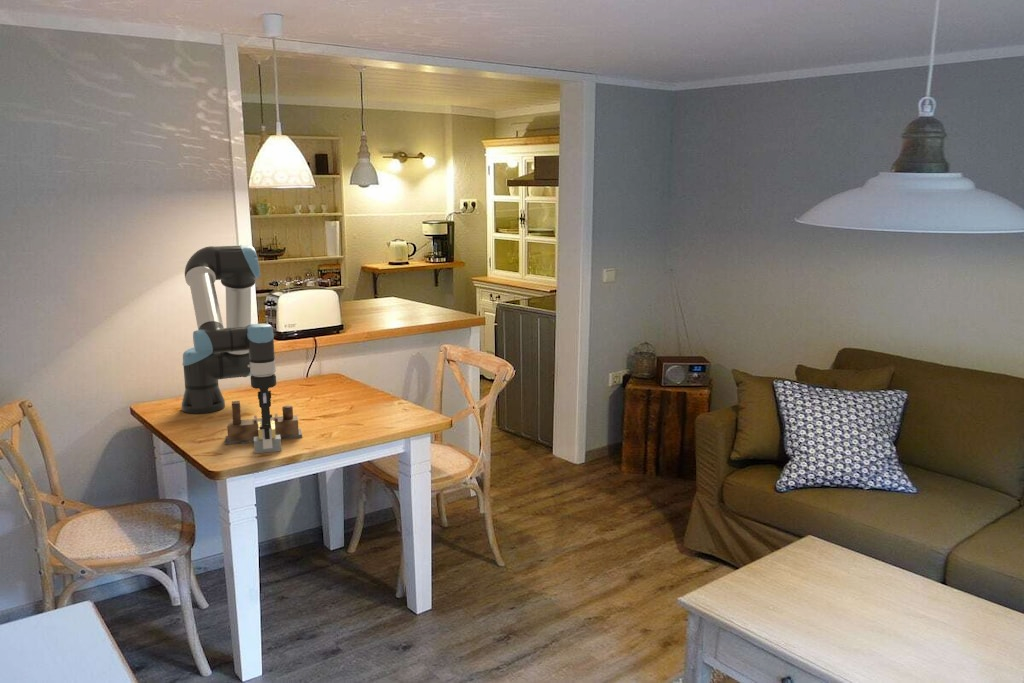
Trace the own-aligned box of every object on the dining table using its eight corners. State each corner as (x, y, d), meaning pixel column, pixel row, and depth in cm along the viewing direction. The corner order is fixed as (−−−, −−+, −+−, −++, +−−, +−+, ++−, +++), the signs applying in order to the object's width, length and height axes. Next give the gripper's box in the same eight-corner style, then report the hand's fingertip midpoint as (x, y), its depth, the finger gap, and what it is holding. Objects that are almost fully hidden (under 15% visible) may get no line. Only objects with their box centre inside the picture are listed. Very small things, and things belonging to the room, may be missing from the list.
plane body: (225, 444, 246) (222, 406, 243) (225, 438, 252) (222, 400, 249) (302, 437, 253) (300, 399, 251) (300, 431, 259) (298, 394, 256)
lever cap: (258, 439, 235) (258, 428, 234) (258, 430, 243) (257, 420, 243) (275, 437, 237) (275, 426, 236) (274, 429, 245) (274, 418, 244)
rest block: (254, 449, 242) (253, 437, 241) (280, 446, 244) (280, 434, 244) (254, 453, 238) (253, 441, 237) (281, 450, 240) (280, 438, 240)
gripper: (250, 367, 245) (254, 433, 250) (250, 383, 225) (255, 455, 229) (274, 365, 247) (278, 431, 252) (276, 381, 227) (281, 453, 232)
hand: (267, 443), depth 241 cm, fingers closed on lever cap, 9 cm apart
